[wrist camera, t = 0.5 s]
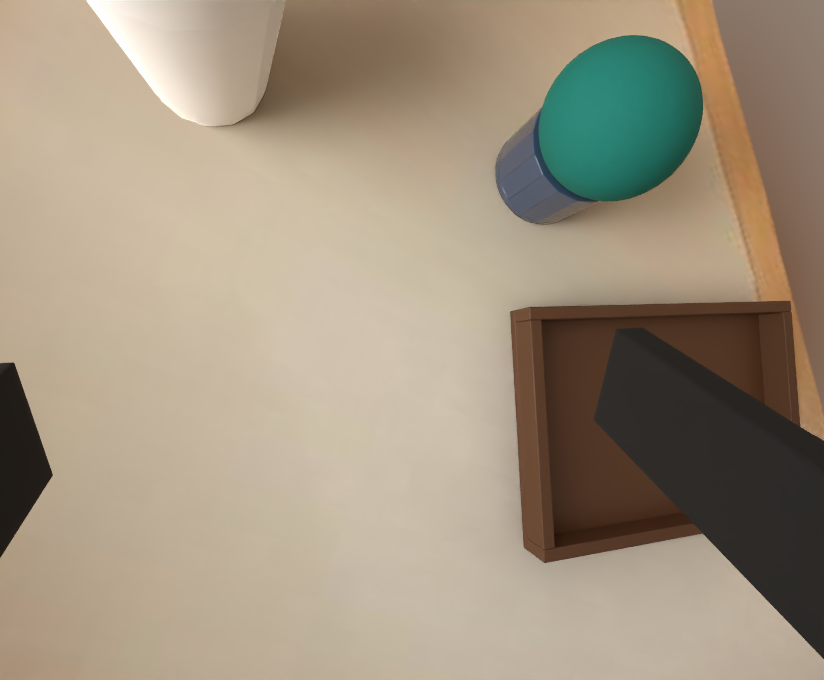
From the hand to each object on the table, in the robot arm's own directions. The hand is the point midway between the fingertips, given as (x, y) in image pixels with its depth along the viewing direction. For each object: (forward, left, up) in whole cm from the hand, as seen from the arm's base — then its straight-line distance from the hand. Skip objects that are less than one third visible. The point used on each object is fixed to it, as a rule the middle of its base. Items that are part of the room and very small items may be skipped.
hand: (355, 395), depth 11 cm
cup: (+13, -16, -18) cm, 28 cm away
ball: (+13, -16, -10) cm, 23 cm away
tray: (-4, -24, -18) cm, 31 cm away
